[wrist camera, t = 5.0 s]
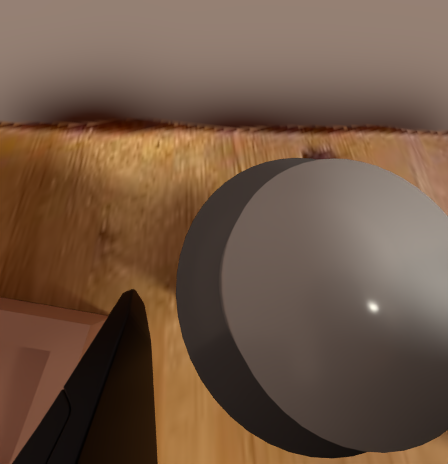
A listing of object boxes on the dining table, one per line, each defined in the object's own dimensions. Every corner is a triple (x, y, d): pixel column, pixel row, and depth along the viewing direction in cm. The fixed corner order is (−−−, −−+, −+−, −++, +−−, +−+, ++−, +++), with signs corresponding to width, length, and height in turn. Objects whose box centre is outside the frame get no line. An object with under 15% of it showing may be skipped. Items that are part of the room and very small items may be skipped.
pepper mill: (267, 258, 16) (501, 158, 3) (259, 326, 15) (593, 569, 2) (204, 245, 16) (210, 89, 3) (190, 314, 14) (103, 507, 2)
